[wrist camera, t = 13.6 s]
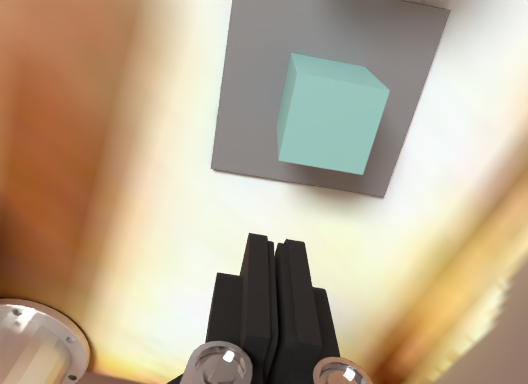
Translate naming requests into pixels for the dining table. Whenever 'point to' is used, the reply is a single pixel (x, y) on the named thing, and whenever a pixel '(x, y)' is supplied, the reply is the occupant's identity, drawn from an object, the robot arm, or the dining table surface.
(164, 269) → the dining table surface
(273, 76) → the grey plate with knob
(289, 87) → the teal rectangular block
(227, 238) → the dining table surface
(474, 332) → the dining table surface
